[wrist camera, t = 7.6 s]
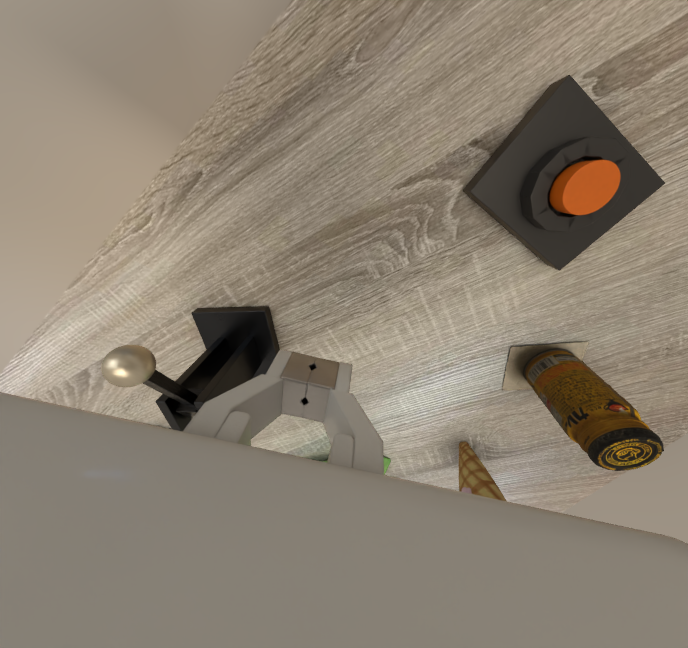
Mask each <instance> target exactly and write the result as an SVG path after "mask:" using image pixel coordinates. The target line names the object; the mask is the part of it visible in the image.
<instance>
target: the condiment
mask: <svg viewBox="0 0 688 648" xmlns="http://www.w3.org/2000/svg"><path fill="white" fill-rule="evenodd" d="M588 344H589V342H577V343H558V344H546V345H534V346H522V347H511V349H510V353H509V357H508V362H507V366H506V372H505V378H504V382H503V389H502V390H522V389H525V390H528V389H533V390H534V391H535V392H536V394H537V395H538V397H539V398H540V399H541V400H542V402H543V403H544V404H545V406H546V407H547V408H548V410H549V411H550V412H551V414H552V415H553V417H554V418H555V419H556V421H557V422H558V423H559V425H560V426H561V427H562V428H563V430H564V431H565V433H566V434H567V435H568V436H569V437H570V439H572V440H573V441H575V442H576V443H578V444H579V445H580V447H581V448H582V450H584V451H585V452H586V453H587V454H588V456H589V458H590V459H591V460H592V461H593V462H594V463H595V464H596V465H597V466H600V467H602V468H605V469H608V470H615V471H620V470H631V469H636V468H639V467H643V466H645V465H648V464H650V463H651V462H653V461H655V460H656V459H657V458H659V456H660V455H661V453H662V451H664V449H663V443H662V441H661V440H660V438H659V437H658V435H656V434H655V433H654V432H653V431H651V430H650V429H649V427H648V426H647V425H646V424H645V423H644V422H643V421H641V418H640V415H639V413H638V412H637V410H636V409H634V408H633V407H632V406H631V404H630V403H628V401H626V400H625V399H624V398H623V397H621V396H620V395H619V394H618V393H617V392H616V391H615V390H613V388H612V387H611V386H610V385H608V384H607V383H605V382H604V380H603V379H601V378H600V377H599V376H598V375H597V374H596V373H595V372H593V371H592V370H591V369H590V368H589V367H588V366H587V365H586V364H584V362H583V361H582V359H583V356H584V354H585V352H586V349H587V347H588Z"/></svg>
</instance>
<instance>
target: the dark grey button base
mask: <svg viewBox="0 0 688 648" xmlns="http://www.w3.org/2000/svg"><path fill="white" fill-rule="evenodd" d="M592 160H609V161H611V162H613V163H615V164H616V165H617V167H618V168H619V170H620V176H621V177H620V184H619V186H618V189H617V191H616V193H615V194H614V196H613V197H612V198H611V199H610V201H609V202H608V203H606V204H605V205H604V206H603V207H601V208H600V209H598V210H597V211H595V212H592V213H590V214H586V215H573V214H568V213H562V212H559V211H557V210H555V209H554V208H553V207H552V205H551V203H550V197H549V196H550V190H551V187H552V185H553V183H554V181H555V179H556V178H557V177H558V176H559V175H560V173H562V172H563V171H564V170H565V169H566V168H568V167H569V166H571V165H573V164H575V163H578V162H582V161H592ZM664 184H665V182H664V181H663V180H662V179H661V178H660V177H659V176H658V174H657V173H656V172H655V171H654V170H653V169H652V168H651V167H650V165H649V164H648V163H647V162H646V161H645V160H644V159H643V157H642V156H641V155H640V154H639V153H638V152H637V151H636V150H635V148H634V147H633V146H632V145H631V144H630V143H629V142H628V140H627V139H626V138H625V137H624V136H623V135H622V134H621V133H620V131H619V130H618V129H617V128H616V127H615V126H614V125H613V123H612V122H611V121H610V120H609V119H608V118H607V117H606V116H605V114H604V113H603V112H602V111H601V110H600V109H599V108H598V106H597V105H596V104H595V103H594V102H593V101H592V100H591V99H590V97H589V96H588V95H587V94H586V93H585V92H584V91H583V89H582V88H581V87H580V86H579V85H578V84H577V83H576V82H575V80H574V79H573V78H572V77H571V76H570V75H568V76H566V77H564V78H562V79H560V80H559V81H557V82H555V83H553V84H551V85H550V87H549V88H548V89H547V90H546V91H545V93H544V94H543V95H542V96H541V97H540V99H539V100H538V101H537V102H536V103H535V105H534V106H533V107H532V108H531V109H530V111H529V112H528V113H527V114H526V115H525V116H524V118H523V119H522V120H521V121H520V122H519V124H518V125H517V126H516V127H515V128H514V130H513V131H512V132H511V133H510V134H509V136H508V137H507V138H506V139H505V140H504V142H503V143H502V144H501V145H500V146H499V148H498V149H497V150H496V151H495V152H494V154H493V155H492V156H491V157H490V158H489V160H488V161H487V162H486V163H485V164H484V166H483V167H482V168H481V169H480V170H479V172H478V173H477V174H476V175H475V176H474V178H473V179H472V180H471V181H470V182H469V184H468V185H467V186H466V187H465V188H464V190H463V192H465V193H466V194H467V195H468V196H469V197H470V198H471V199H473V200H474V201H475V202H476V203H477V204H478V205H479V206H481V207H482V208H483V209H484V210H485V211H486V212H487V213H489V214H490V215H491V216H492V217H493V218H494V219H495V220H497V221H498V222H499V223H500V224H501V225H502V226H503V227H505V228H506V229H507V230H508V231H509V232H510V233H511V234H513V235H514V236H515V237H516V238H517V239H518V240H519V241H520V242H522V243H523V244H524V245H525V246H526V247H527V248H528V249H530V250H531V251H532V252H533V253H534V254H535V255H536V256H538V257H539V258H540V259H541V260H542V261H543V262H544V263H546V264H547V265H549V266H551V267H553V268H555V269H557V270H561V269H562V268H563V267H564V266H566V265H567V264H568V263H569V262H570V261H572V260H573V259H574V258H575V257H576V256H578V255H579V254H580V253H581V252H582V251H584V250H585V249H586V248H587V247H589V246H590V245H591V244H592V243H593V242H595V241H596V240H597V239H598V238H599V237H601V236H602V235H603V234H604V233H605V232H607V231H608V230H609V229H610V228H612V227H613V226H614V225H615V224H616V223H618V222H619V221H620V220H621V219H622V218H624V217H625V216H626V215H627V214H628V213H630V212H631V211H632V210H633V209H635V208H636V207H637V206H638V205H639V204H641V203H642V202H643V201H644V200H645V199H647V198H648V197H649V196H650V195H651V194H653V193H654V192H655V191H656V190H658V189H659V188H660V187H661V186H662V185H664Z"/></svg>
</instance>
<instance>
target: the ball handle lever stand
mask: <svg viewBox="0 0 688 648" xmlns="http://www.w3.org/2000/svg"><path fill="white" fill-rule="evenodd" d="M192 315H193V318H194V320H195V323H196V325H197V327H198V330H199V332H200V335H201V337H202V339H203V342H204V344H205V347H206V349H207V350H206V351H205V352H204V353H203V354H202V355H201V356H200V357H199V358H198V359H197V360H196V361H195V362H194V363H193V364H192V365H191V366H190V367H189V368H188V369H187V370H186V371H185V372H184V373H183V374H182V375H181V376H180V377H179V378H178V379H177V380H176V381H175V382H176V383H178V384H180V385H181V386H183V387H184V388H195V389H204V390H203V391H202V393H201V394H200V395H199V396H198V398H197V399H196V400H195V401H194V405H195V406H196V408H197V410H198V411H199V409H200V408H201V407H202V406H203V404H204V403H205V402H207V401H209V400H211V399H213V398H215V397H217V396H219V395H221V394H223V393H225V392H227V391H229V390H231V389H233V388H235V387H237V386H239V385H241V384H243V383H245V382H247V381H249V380H251V379H253V378H255V377H257V376H259V375H261V374H264V375H266V373H267V371H268V369H269V368H270V366H271V364H272V362H273V360H274V359H275V357H276V355H277V353H278V352H279V351H280V349H279V345H278V341H277V337H276V333H275V329H274V325H273V321H272V317H271V313H270V309H269V306H262V307H227V308H198V309H196V310H195V311H193V312H192ZM156 403H157V405H158V407H159V408H160V410H161V411H162V413H163V415H164V416H165V418H166V420H167V421H168V423H169V425H170V426H171V428H172V429H173V430H178V431H183V430H184V429H185V428H186V426H187V425H188V424H189V422H190V421H191V420H192V419H191V418H188V417H186V416H184V415H182V414H180V413H178V412H176V409H177V407H178V405H179V402H178V401H176V400H174V399H172V398H170V397H168V396H166V395H165V394H162V395H161V396H160V397H159V398H158V399H157V400H156Z"/></svg>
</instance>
